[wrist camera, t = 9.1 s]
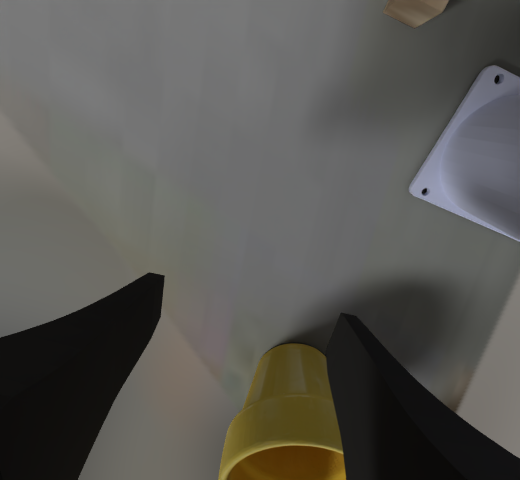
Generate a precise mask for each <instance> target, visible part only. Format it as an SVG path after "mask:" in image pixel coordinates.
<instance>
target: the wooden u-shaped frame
mask: <svg viewBox="0 0 520 480" xmlns="http://www.w3.org/2000/svg"><path fill="white" fill-rule="evenodd" d="M448 1H449V0H388V2H387V5H386V7H385V9H384V11H383V13H385V14H387V15H389V16H391V17H393V18H395V19H397V20H399V21H401V22H403V23H405V24H407V25H409V26H410V27H412V28H414V29H415V28H417V27H418V26H420V25H422V24H423V23H425V22H427V21H429V20H430V19H432V18H434V17H435V16H437V15H439V14H441V13H442V12H443V11H444V9H445V7H446V5H447V3H448Z"/></svg>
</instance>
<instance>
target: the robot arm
mask: <svg viewBox="0 0 520 480" xmlns="http://www.w3.org/2000/svg"><path fill="white" fill-rule="evenodd" d="M497 75H498V76H499V82H498V83H497V84H495V82H494V79H495V77H496V76H497ZM424 188H427V192H426V193H425V194H422V193H421V192H422V190H423V189H424ZM409 192H410V193H411V194H412V195H414V196H416V197H418V198H421V199H423V200H425V201H427V202H430V203H432V204H434V205H437V206H439V207H441V208H444V209H446V210H448V211H450V212H453V213H455V214H457V215H460V216H462V217H464V218H467V219H469V220H471V221H473V222H476V223H478V224H480V225H483V226H485V227H487V228H489V229H492V230H494V231H496V232H499V233H501V234H503V235H506V236H508V237H510V238H512V239H515V240H517V241H519V242H520V77H518V76H516V75H514V74H512V73H510V72H508V71H507V70H505V69H503V68H501V67H499V66H496V65H492V66H487V67H485V68H484V69H483V70H482V71H481V72H480V73H479V75H478V77H477V78H476V80H475V82H474V83H473V85H472V86H471V88H470V90H469V91H468V93H467V94H466V96H465V98H464V99H463V101H462V102H461V104H460V106H459V107H458V109H457V110H456V112H455V114H454V115H453V117H452V118H451V120H450V122H449V123H448V125H447V126H446V128H445V130H444V131H443V133H442V134H441V136H440V138H439V139H438V141H437V142H436V144H435V146H434V147H433V149H432V150H431V152H430V154H429V155H428V157H427V159H426V160H425V162H424V163H423V165H422V167H421V168H420V170H419V171H418V173H417V175H416V176H415V178H414V179H413V181H412V183H411V184H410V186H409ZM164 277H165V276H164V275H159V274H155V273H150V272H149V273H147V274H146V275H144V276H142V277H140V278H139V279H137V280H135V281H134V282H132V283H130V284H128V285H127V286H125V287H123V288H121V289H120V290H118V291H116V292H114V293H112V294H111V295H109V296H107V297H105V298H103V299H101V300H99V301H97V302H95V303H93V304H91V305H89V306H87V307H85V308H82V309H80V310H78V311H76V312H73V313H71V314H69V315H66V316H64V317H61V318H59V319H56V320H54V321H51V322H48V323H45V324H42V325H39V326H36V327H33V328H30V329H27V330H24V331H21V332H18V333H15V334H11V335H8V336H4V337H1V338H0V480H78V478H79V475H80V473H81V471H82V469H83V466H84V464H85V462H86V459H87V457H88V455H89V453H90V451H91V449H92V446H93V444H94V442H95V440H96V438H97V436H98V433H99V431H100V429H101V427H102V425H103V423H104V421H105V419H106V417H107V415H108V413H109V410H110V408H111V406H112V404H113V402H114V400H115V398H116V397H117V395H118V393H119V391H120V389H121V388H122V386H123V384H124V383H125V381H126V379H127V378H128V376H129V375H130V373H131V371H132V369H133V368H134V366H135V365H136V363H137V361H138V360H139V358H140V356H141V354H142V353H143V351H144V350H145V348H146V346H147V344H148V343H149V341H150V339H151V337H152V335H153V333H154V330H155V328H156V326H157V324H158V321H159V319H160V317H161V307H162V297H163V287H164ZM326 362H327V373H328V379H329V384H330V389H331V394H332V398H333V403H334V407H335V412H336V417H337V421H338V426H339V430H340V436H341V442H342V448H343V457H344V465H345V474H346V480H520V458H518V457H516V456H515V455H513V454H512V453H510V452H508V451H507V450H506V449H504V448H503V447H501V446H500V445H498V444H497V443H495V442H494V441H492V440H491V439H489V438H488V437H487V436H485V435H484V434H482V433H481V432H479V431H478V430H477V429H475V428H474V427H473V426H471V425H470V424H469V423H467V422H466V421H465V420H463V419H462V418H461V417H459V416H458V415H457V414H456V413H454V412H453V411H452V410H450V409H449V408H448V407H447V406H446V405H444V404H443V403H442V402H441V401H439V400H438V399H437V398H436V397H435V396H434V395H433V394H431V393H430V392H429V391H428V390H427V389H426V388H425V387H423V386H422V385H421V384H420V383H419V382H418V381H417V380H416V379H415V378H414V377H413V376H412V375H411V374H410V373H409V372H408V371H407V370H406V369H405V368H404V367H403V366H402V365H401V364H400V363H399V362H398V361H397V360H396V359H395V358H394V357H393V356H392V355H391V354H390V353H389V352H388V351H387V350H386V349H385V347H384V346H383V345H382V344H381V343H380V342H379V341H378V340H377V339H376V337H375V336H374V335H373V334H372V333H371V332H370V331H369V329H368V328H367V327H366V326H365V325H364V324H363V323H362V322H361V321H360V320H359V319H358V318H357V317H356V316H354V315H349V314H344V313H341V314H340V317H339V319H338V322H337V324H336V327H335V329H334V332H333V334H332V337H331V339H330V341H329V344H328V346H327V349H326Z"/></svg>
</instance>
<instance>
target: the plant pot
mask: <svg viewBox="0 0 520 480" xmlns="http://www.w3.org/2000/svg"><path fill="white" fill-rule="evenodd" d="M218 480H346V474H345V465H344V457H343V448H342V442H341V436H340V430H339V426H338V421H337V417H336V412H335V407H334V403H333V398H332V394H331V389H330V384H329V379H328V373H327V362H326V357H325V356H324V355H323V354H322V353H321V352H320V351H319V350H317V349H316V348H313V347H311V346H308V345H304V344H296V343H290V344H283V345H279V346H277V347H275V348H272V349H271V350H269V351H268V352H267V353H266V354H264V356H263V357H262V358H261V360H260V362H259V364H258V367H257V370H256V373H255V376H254V379H253V382H252V384H251V387H250V390H249V393H248V396H247V398H246V401H245V404H244V407H243V409H242V410H241V411H240V412H239V413H238V414H237V415H236V417H235V418H234V419H233V421H232V423H231V424H230V426H229V429H228V432H227V435H226V440H225V444H224V449H223V454H222V460H221V466H220V472H219V479H218Z"/></svg>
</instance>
